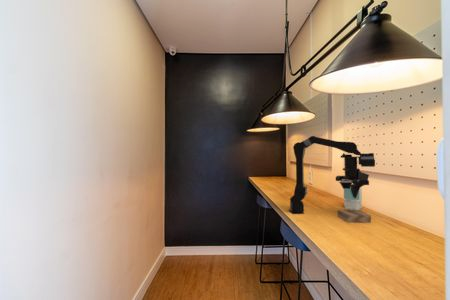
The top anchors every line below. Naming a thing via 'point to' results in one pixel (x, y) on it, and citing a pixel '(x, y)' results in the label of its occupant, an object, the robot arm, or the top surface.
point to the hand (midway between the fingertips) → (351, 196)
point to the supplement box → (354, 202)
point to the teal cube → (350, 194)
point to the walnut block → (354, 216)
